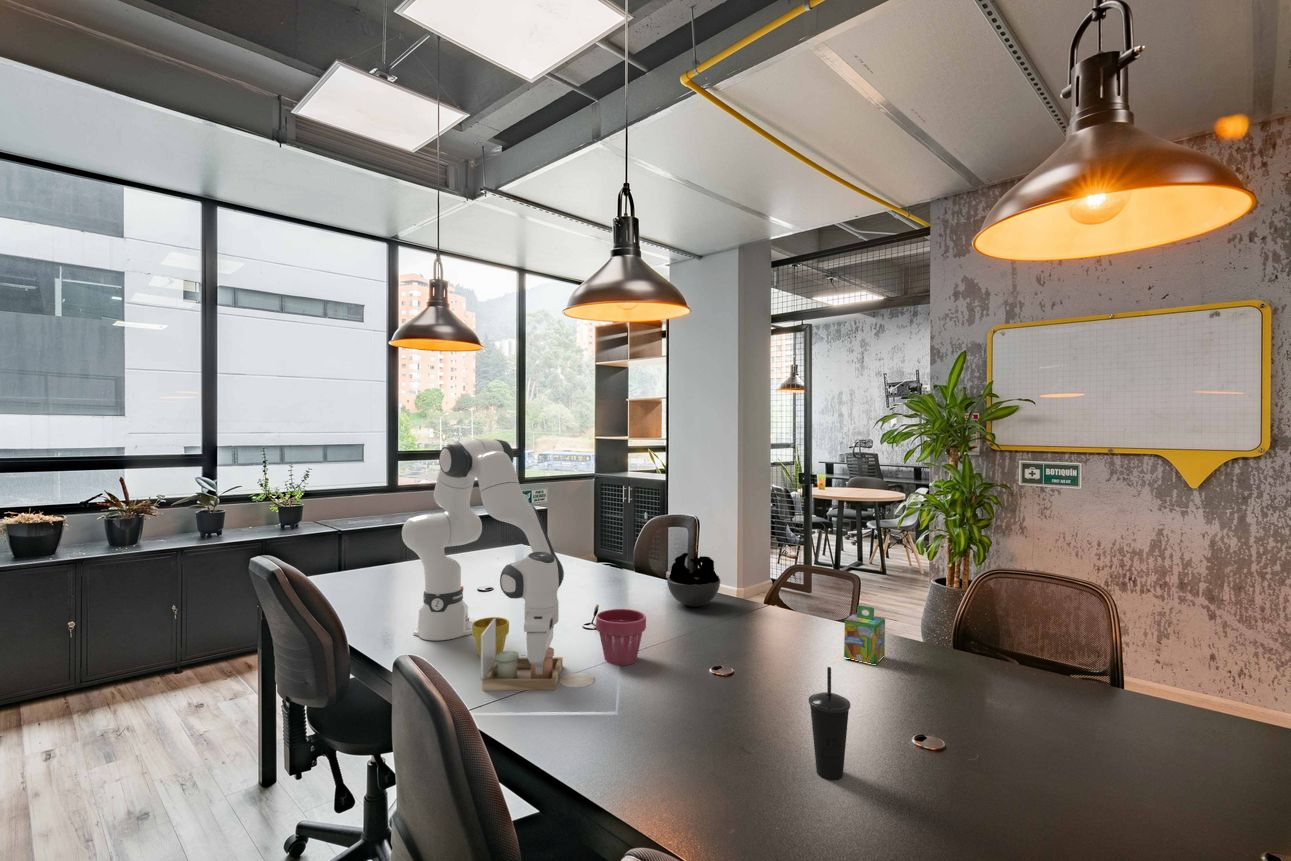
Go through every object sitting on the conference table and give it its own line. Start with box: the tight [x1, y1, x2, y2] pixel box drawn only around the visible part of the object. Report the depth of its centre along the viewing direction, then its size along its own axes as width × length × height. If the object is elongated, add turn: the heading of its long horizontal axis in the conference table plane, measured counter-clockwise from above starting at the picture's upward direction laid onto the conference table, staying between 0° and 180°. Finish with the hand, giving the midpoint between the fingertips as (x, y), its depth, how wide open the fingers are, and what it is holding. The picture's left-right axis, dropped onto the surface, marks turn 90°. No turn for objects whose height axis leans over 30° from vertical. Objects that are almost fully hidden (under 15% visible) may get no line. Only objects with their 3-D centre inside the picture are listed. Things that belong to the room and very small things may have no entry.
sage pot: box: [496, 650, 520, 679], centre depth 163 cm, size 6×6×6 cm
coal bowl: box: [666, 552, 721, 607], centre depth 234 cm, size 20×20×19 cm
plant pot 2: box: [595, 608, 647, 666], centre depth 177 cm, size 14×14×13 cm
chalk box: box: [843, 605, 886, 665], centre depth 178 cm, size 9×9×15 cm
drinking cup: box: [808, 666, 851, 781], centre depth 118 cm, size 8×8×20 cm
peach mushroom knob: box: [531, 646, 555, 679], centre depth 163 cm, size 6×6×7 cm
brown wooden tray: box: [482, 656, 563, 692], centre depth 163 cm, size 16×18×3 cm
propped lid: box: [480, 619, 496, 682], centre depth 163 cm, size 14×1×11 cm, turn 1°
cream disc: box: [559, 672, 595, 689], centre depth 161 cm, size 9×9×1 cm
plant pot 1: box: [471, 616, 510, 658], centre depth 181 cm, size 10×10×10 cm
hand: (541, 668), depth 163 cm, fingers closed on peach mushroom knob, 6 cm apart
